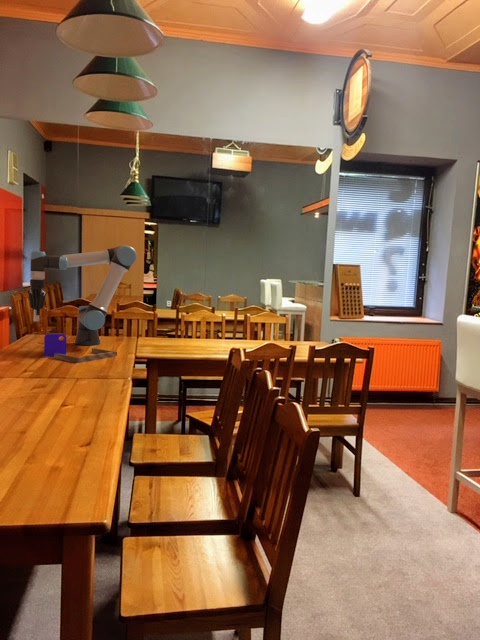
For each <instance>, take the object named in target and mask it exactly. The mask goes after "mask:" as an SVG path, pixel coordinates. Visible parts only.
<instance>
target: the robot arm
mask: <svg viewBox="0 0 480 640" xmlns="http://www.w3.org/2000/svg"><path fill="white" fill-rule="evenodd" d="M137 254H138V253H137V252H136V250H135V248H133V247H132V246H129V245H126V244H124V245H119V246H115V247H111V248H105V249H104V250H100V251H99V250H98V251H92V252H91V251H88V252H81V253H72V254H71V253H69V254H62V255H47V254H46V251H37V250H32V251H31V252H30V268H29V270H30V274H29V275H30V277H29V278H30V279H29V286H31V287H30V290H28V291H27V294H28V299H29V306H30V308H31V309H32V315H33V319H32V320H33V322H39V321H40V316H41V310H42V309H43V308H44V305H45V299H46V296H47V291H44V287H45V284H46V283H45V278H46V277H45V276H46V274H45V273H46V269H47V270H57V271H59V270H60V271H66V270H67V269H68V268H75V267H83V266H91V265H92V266H93V265H100V264H101V265H103V264H106V265H111V266H110V268H109V270H108V272H107V274H106V276H105V278H104V280H103V281H102V284H101V286H100V288H99V289H98V291H97V294H96V296H95V298H94V299H93V301H92V302H90V303H88V305H81V306H78V310H77V312H78V313H77V314H78V316H77V333H76V335H75V338H74V344H75V345H80V346H96V345H100V344H101V339H100V336H99V331H98V330H99V329H101V328H102V327H104V326H105V325H104V324H105V323H106V316H107V314H108V307H109V305H110V303H111V301H112V299H113V296H114V295H115V292H116V291H117V289H118V287H119V285H120V284H121V283H120V282H121V281H122V279H123V277H124V275H125V274H126V273H127V272H129V271H130V268H131V267H132V265H134V264H135V263H136V261H137V257H138V255H137Z"/></svg>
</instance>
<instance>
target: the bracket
mask: <svg viewBox="0 0 480 640" xmlns="http://www.w3.org/2000/svg"><path fill="white" fill-rule="evenodd" d="M43 337H44V340H43V345H44V346H43V356H44V357H54V354H56V353H59V354H65V355H67V338H68V337H67V335H66V334H65V333H64V332H61V333H60V332H48V333H45V334H44V336H43ZM61 337H63V338H62V339H61V340H60V338H61Z"/></svg>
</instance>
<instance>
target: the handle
mask: <svg viewBox="0 0 480 640" xmlns="http://www.w3.org/2000/svg"><path fill="white" fill-rule="evenodd" d="M91 353H93V354H89V355H83V356H82V355H81V356H75V355H69V354H66V355H65V354H59V353H56V354H54V356H53V358H54V359H55V360H61V361H66V362H71V363H76V364H79V363H85V362H86V363H87V362H92V361H96V360H104V359H108V358H112V357H118V351H115V350H108V349H102V348H96V347H93V348H91Z"/></svg>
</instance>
